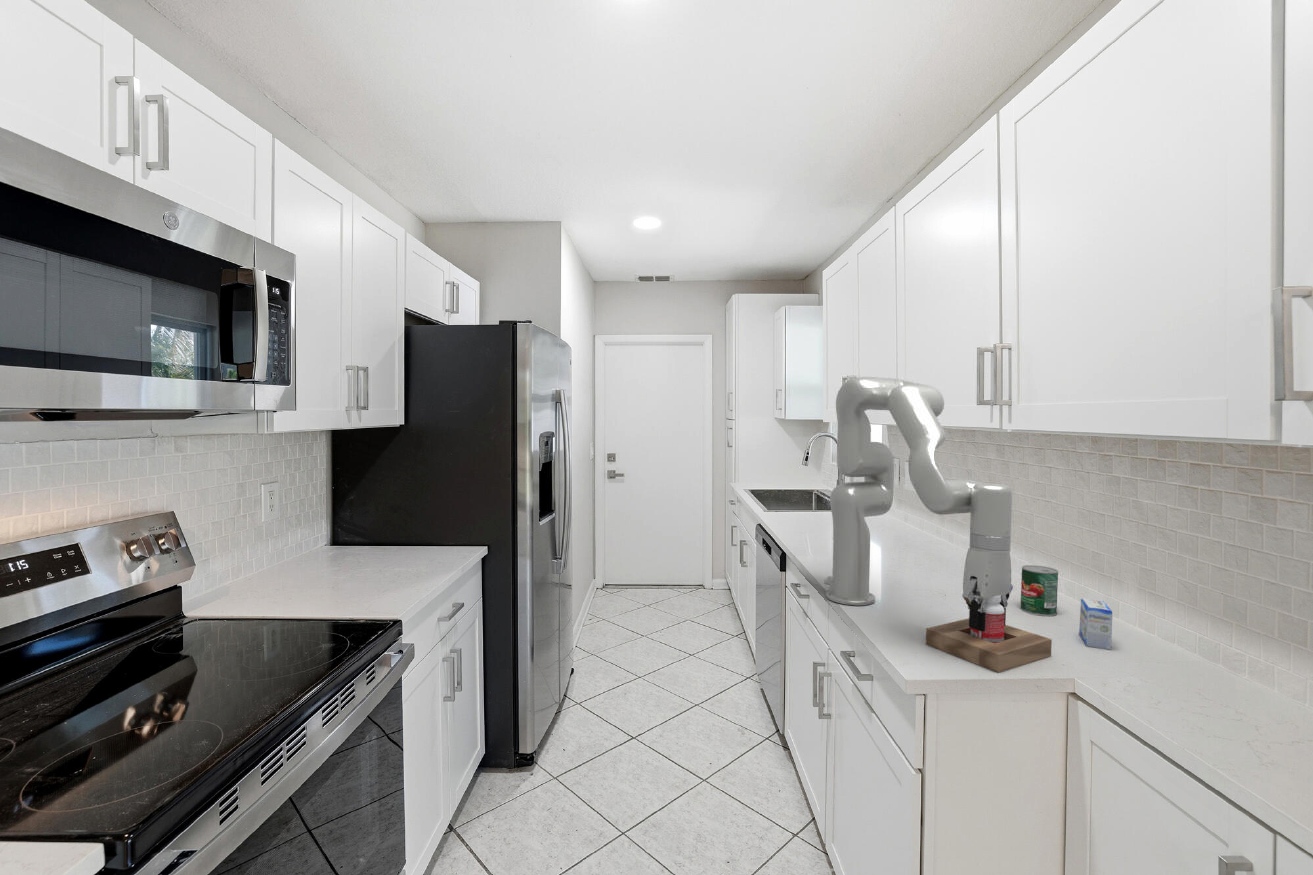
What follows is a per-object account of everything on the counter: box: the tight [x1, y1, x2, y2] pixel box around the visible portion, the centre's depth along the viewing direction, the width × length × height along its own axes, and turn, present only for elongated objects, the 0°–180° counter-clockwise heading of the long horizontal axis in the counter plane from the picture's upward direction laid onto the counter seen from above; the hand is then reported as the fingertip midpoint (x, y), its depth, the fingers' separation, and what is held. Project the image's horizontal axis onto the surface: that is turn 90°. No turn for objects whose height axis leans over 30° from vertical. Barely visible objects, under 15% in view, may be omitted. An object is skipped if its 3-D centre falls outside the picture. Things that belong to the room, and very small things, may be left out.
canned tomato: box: [1019, 564, 1059, 617], centre depth 151 cm, size 8×8×11 cm
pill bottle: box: [971, 593, 1005, 643], centre depth 125 cm, size 6×6×11 cm
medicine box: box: [1078, 597, 1113, 650], centre depth 130 cm, size 8×4×9 cm, turn 154°
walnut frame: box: [925, 617, 1053, 674], centre depth 125 cm, size 16×18×4 cm
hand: (987, 625), depth 125 cm, fingers closed on pill bottle, 6 cm apart
